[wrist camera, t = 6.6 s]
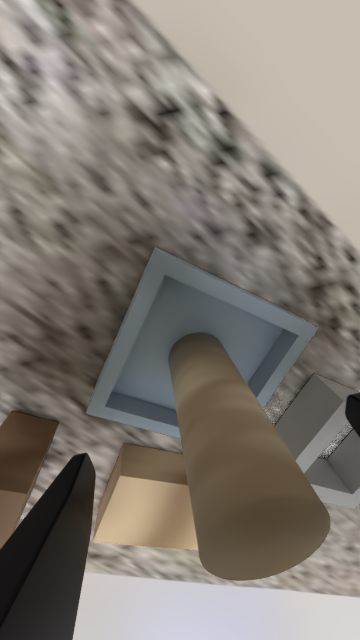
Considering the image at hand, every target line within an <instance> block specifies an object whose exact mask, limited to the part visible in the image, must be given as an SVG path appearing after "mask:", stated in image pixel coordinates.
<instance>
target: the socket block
mask: <svg viewBox="0 0 360 640" xmlns="http://www.w3.org/2000/svg"><path fill="white" fill-rule="evenodd" d="M355 393H360V392H358V391H356V390H353V389H351V388H348V387H346V386H343V385H341V384H339V383H336V382H334V381H331V380H329V379H326V378H324V377H322V376H319V375H317V374H313V375H312V376H311V378H310V379H309V380H308V382H307V383H306V385H305V386H304V387H303V389H302V390H301V391H300V393H299V394H298V395H297V397H296V398H295V399H294V401H293V402H292V403H291V405H290V406H289V407H288V409H287V410H286V411H285V413H284V414H283V416H282V417H281V418H280V420H279V421H278V422H277V424H276V425H275V426H274V427H275V429H276V430H277V432H278V433H279V435H280V437H281V438H282V440H283V441H284V443H285V445H286V446H287V448H288V449H289V451H290V452H291V454H292V456H293V457H294V459H295V460H296V462H297V464H298V465H299V467H300V468H301V470H302V471H303V473H304V475H305V476H306V478H307V479H308V481H309V482H310V484H311V486H312V487H313V489H314V490H315V492H316V494H317V495H318V497H319V498H320V500H321V501H322V502H324V503H328V504H333V505H337V506H341V507H346V508H350V509H355V508H356V507H357V506H358V505H359V504H360V438H359V436H358V435H357V433H356V432H355V430H354V429H353V430H352V431H351V432H350V433H349V435H348V436H347V437H346V438H345V439H344V440H343V442H342V443H341V444H340V445H339V446H338V447H337V448H336V450H335V451H334V452H333V453H332V454H331V455H330V456H329V458H328V459H327V460H326V459H322V458H319V457H318V456H319V455H320V454H321V453H322V452H323V451H324V449H325V448H326V447H327V446H328V445H329V444H330V442H331V441H332V440H333V439H334V438H335V437H336V435H337V434H338V433H339V432H340V431H341V430H342V428H343V427H344V426H345V425H346V424H348V425H350V423H349V422H348V420H347V418H346V416H345V407H346V400H347V396H348V395H350V394H355ZM350 426H351V425H350Z"/></svg>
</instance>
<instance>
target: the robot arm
mask: <svg viewBox="0 0 360 640" xmlns="http://www.w3.org/2000/svg"><path fill="white" fill-rule="evenodd" d="M345 416H346V418H347V420H348V422H349V423H350V425H351V426H352V428H353V429H354V430H355V432H356V433H357V435H358V436H359V438H360V393H355V394H350V395H348V396H347V400H346V407H345ZM95 477H96V475H95V469H94V466H93V464H92V462H91V459H90V457H89V455H88V454H87V453H82V454H77V455H74V456H73V457H72V458H71V459H70V461H69V462H68V463H67V465H66V466H65V467H64V468H63V470H62V471H61V472H60V474H59V475H58V476H57V477H56V479H55V480H54V481H53V482H52V484H51V485H50V486H49V488H48V489H47V490H46V491H45V493H44V494H43V495H42V496H41V498H40V499H39V500H38V502H37V503H36V504H35V505H34V507H33V508H32V509H31V510H30V512H29V513H28V514H27V516H26V517H25V518H24V519H23V521H22V522H21V523H20V524H19V526H18V527H17V528H16V530H15V531H14V532H13V533H12V535H11V536H10V537H9V538H8V540H7V541H6V542H5V544H4V545H3V546H2V547H1V549H0V640H72V639H73V633H74V627H75V621H76V616H77V610H78V604H79V598H80V593H81V587H82V581H83V576H84V570H85V564H86V558H87V553H88V547H89V541H90V535H91V526H92V515H93V502H94V490H95Z"/></svg>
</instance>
